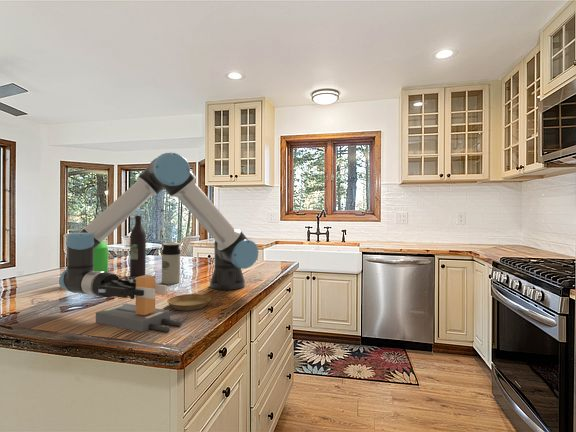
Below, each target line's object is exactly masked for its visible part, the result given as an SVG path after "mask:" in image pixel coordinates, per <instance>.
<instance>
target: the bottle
mask: <svg viewBox="0 0 576 432" xmlns="http://www.w3.org/2000/svg"><path fill="white" fill-rule="evenodd" d="M93 264H94V271H101V272H108V273H109V247H108V245H107V244H106V242H105V241H104V240H103V241H102V242H101V243H100V244H99V245H98V246H97V247H96V248H95V249H94V262H93Z"/></svg>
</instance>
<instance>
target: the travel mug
mask: <svg viewBox="0 0 576 432" xmlns="http://www.w3.org/2000/svg"><path fill="white" fill-rule="evenodd" d="M180 244H181V243H180V242H162V246H163V248H162V249H161V284H163V285H175V284H178V283H180V281H181V249H180Z"/></svg>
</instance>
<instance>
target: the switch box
mask: <svg viewBox="0 0 576 432" xmlns="http://www.w3.org/2000/svg"><path fill="white" fill-rule="evenodd" d="M95 323H96V324H99V323H100V325H104V324H105V326H110V327H114V328H121V329H125V330H129V331H130V330H131V331H135V332H140V333H143V332H145V331H149V330H154V331H160V332H165V333H168V332H170V331H171V328H170V327H169V325H170V326H174V327H181V326H182V325H183V323H182V321H179V320H174V319H171V310H168V309H163V308H156V307H155V312H153V313H150V314H147V315H140V314H136V304H132V303H123V304H120V305H117V306H113V307H109V308H106V309H103V310H100V311H97V312H95ZM162 324H164V325H162ZM165 325H168V326H165Z"/></svg>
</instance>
